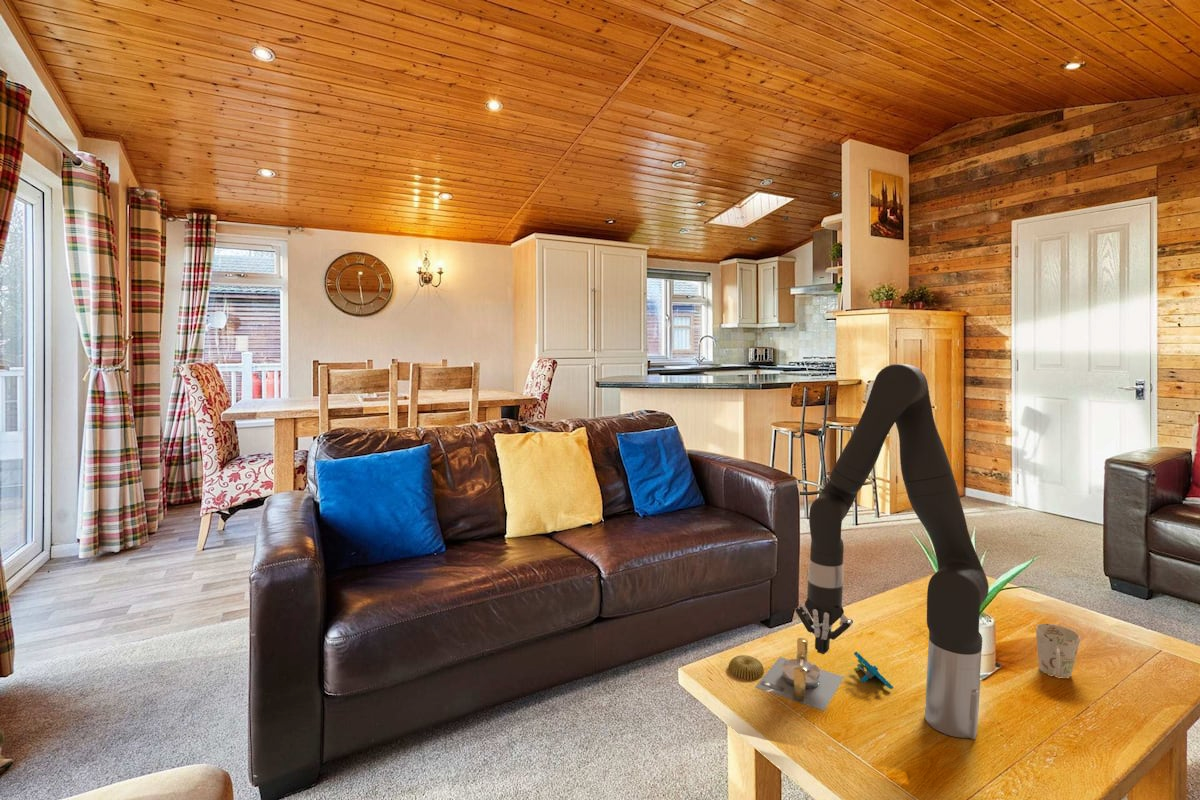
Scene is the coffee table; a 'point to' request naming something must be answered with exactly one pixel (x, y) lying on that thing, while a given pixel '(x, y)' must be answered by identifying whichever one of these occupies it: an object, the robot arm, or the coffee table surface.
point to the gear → (869, 670)
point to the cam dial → (801, 671)
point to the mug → (1056, 649)
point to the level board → (813, 696)
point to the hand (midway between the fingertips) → (821, 652)
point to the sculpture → (746, 667)
